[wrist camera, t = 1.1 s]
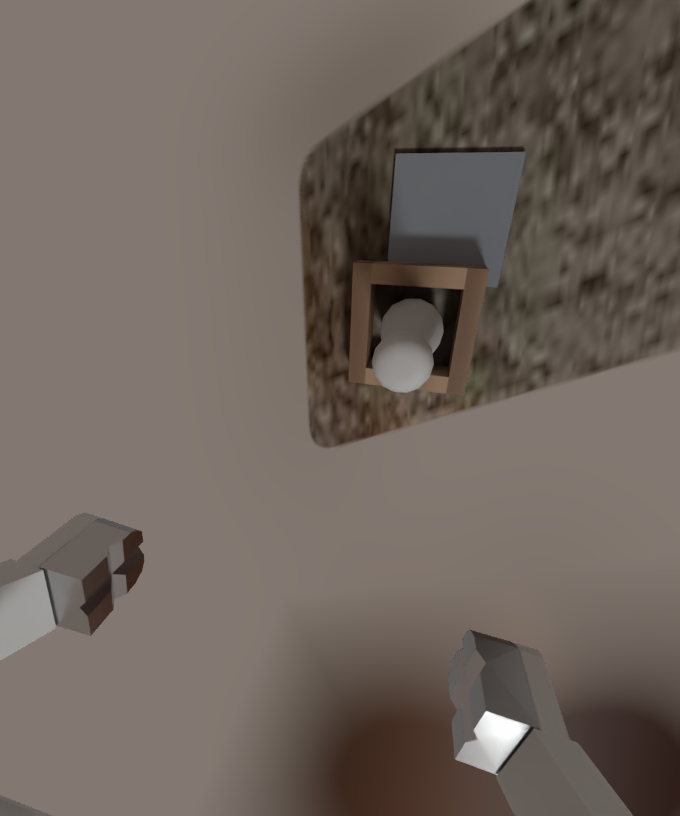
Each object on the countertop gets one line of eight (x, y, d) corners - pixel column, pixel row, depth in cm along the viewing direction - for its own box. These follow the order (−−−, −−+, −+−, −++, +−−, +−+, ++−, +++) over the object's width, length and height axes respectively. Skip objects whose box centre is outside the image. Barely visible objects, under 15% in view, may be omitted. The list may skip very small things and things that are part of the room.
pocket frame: (485, 265, 32) (489, 269, 30) (462, 384, 37) (464, 395, 35) (359, 259, 35) (353, 262, 32) (354, 371, 40) (348, 381, 37)
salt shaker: (397, 360, 38) (379, 416, 27) (374, 310, 36) (344, 347, 25) (452, 338, 36) (457, 389, 24) (430, 283, 34) (424, 311, 23)
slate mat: (525, 152, 28) (526, 151, 28) (496, 286, 33) (497, 287, 32) (396, 154, 30) (395, 153, 30) (386, 280, 35) (385, 280, 34)
